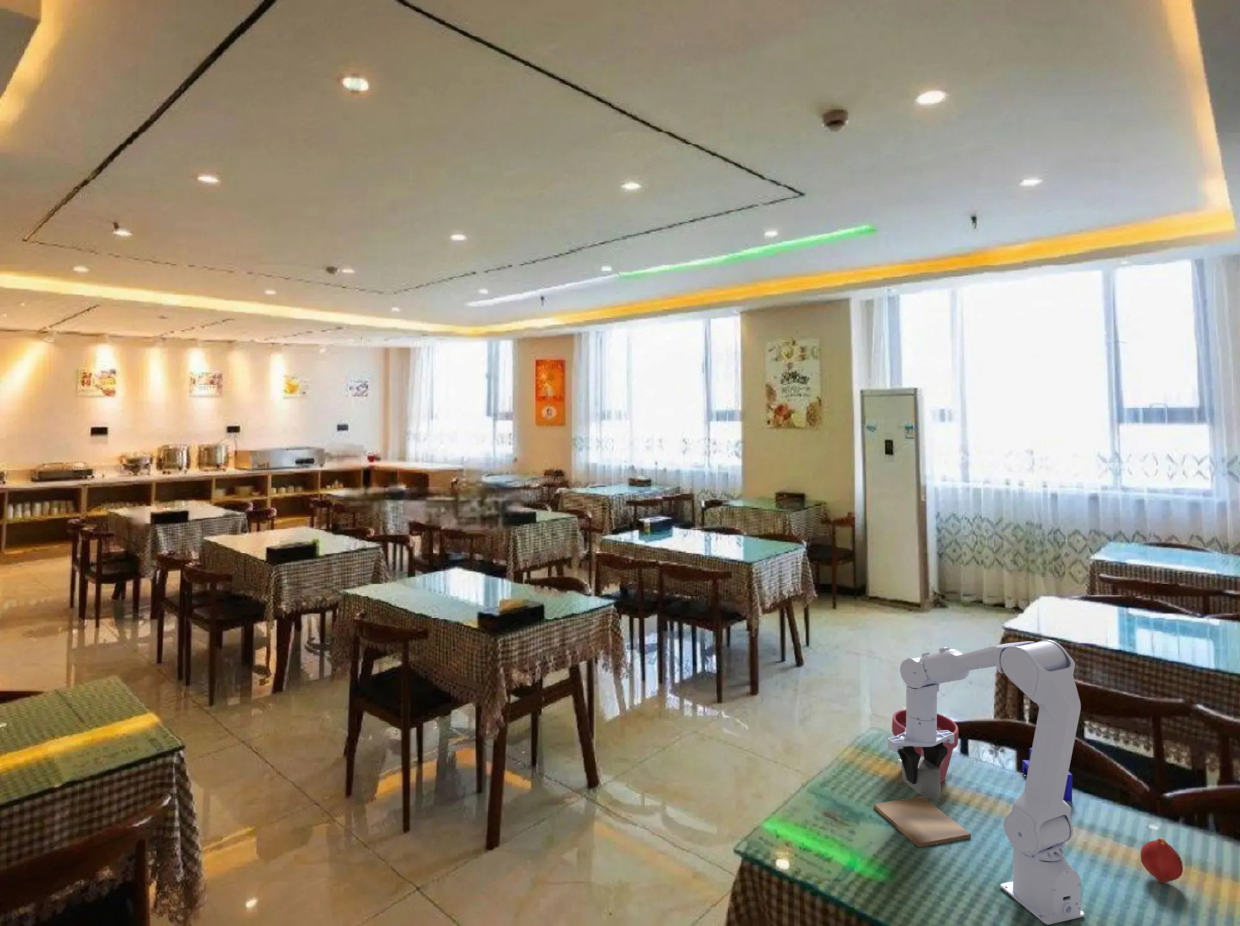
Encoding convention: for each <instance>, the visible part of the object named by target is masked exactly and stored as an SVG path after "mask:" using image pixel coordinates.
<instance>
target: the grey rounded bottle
mask: <svg viewBox="0 0 1240 926" xmlns="http://www.w3.org/2000/svg"><path fill="white" fill-rule="evenodd" d="M897 767H898V768H900V769H901V780H902V781H903V782H904V783H905V784H906V785H907V786H908V787H910V788H912V789H913V790H914V791H915V792H916V793H918V794H919V795H920V796H922V797H923V798H927V799H939V798H940V797H941V783H940V769H939V768H938V767H936V766H935V765H933V764H932V763H930V762H929V761H927V760H926V759H924V758H923V757H922V756H921V758H920V760H919V764H918V769H917V781H916V784H912V783H911V782H909V781H908V780H907V778H906V774H905V770H904V766H903V763H902V761H901V758H898V759H897Z"/></svg>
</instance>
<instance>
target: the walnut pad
mask: <svg viewBox="0 0 1240 926" xmlns="http://www.w3.org/2000/svg"><path fill="white" fill-rule="evenodd" d="M873 809H875V810H876V811H877V812H878V813H879V814H880V815H882V816H883V818H885V819H886V820H887V821H888V822H890V823H891V825H893V827H895V828H896V829H898V830H899V831H900V832H901V833H902V834H903V835H904V836H906V837H907V839H909V841H911V842H912V843H913V844H915V845H916V846H917V847H918V848H925V847H928V846H927V845H930V846H934V845H933V844H936V843H941V844H946V843H950V842H957V841H961V840H967V839H971V837H972V834H971V833H970V832H969V831H968V830H967V829H965V828H964V827H963V826H961V825H960V824H958V822H956V821H955V820H953V818H951V817H950V816H948V815H947V814H946V813H944V812H943V811H942V810H940V809H939V808H938V807H937V806H935V805H934V804H933V803H931V802H930V801H929V800H927V799H926V797H924V796H922V795H920V796H915V797H908V798H903V799H897V800H890V801H885V802H878V803H874V804H873ZM936 845H937V844H936ZM924 846H925V847H924Z"/></svg>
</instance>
